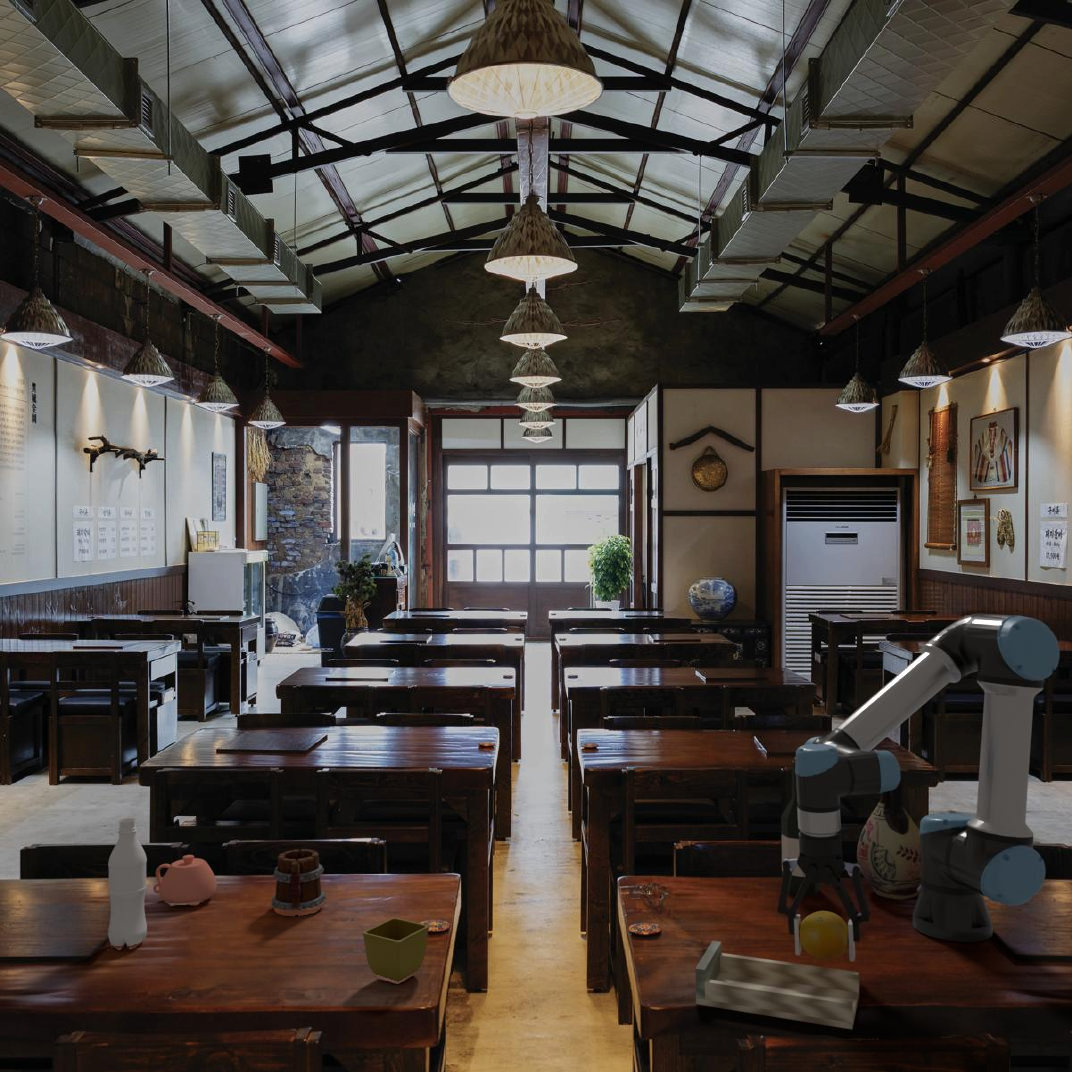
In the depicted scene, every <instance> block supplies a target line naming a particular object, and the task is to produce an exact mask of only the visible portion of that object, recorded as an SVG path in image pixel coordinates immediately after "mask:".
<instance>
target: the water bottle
mask: <svg viewBox="0 0 1072 1072" xmlns="http://www.w3.org/2000/svg"><path fill="white" fill-rule="evenodd" d="M118 826H119V827H118V831H117V834H119V835H118V839H117V842H116V843H115V846H114V848H113V849H112V851H111V854H110V856H109V858H108V863H107V864H108V865H107V866H108V894H109V900H110V901H109V902H110V918H109V919H110V920H109V926H108V930H107V936H108V940H109V944H110V945H111V946H112V945H113V946H123V945H124V944H125V943H126V944H125V945H126V946H127V947H128V946H132V945H134V944H138V943H140V942H141V941H142V940H144V939H145V940H146V937H147V933H148V925H147V920H146V919H147V918H146V913H145V895H146V891H147V861H148V859H147V854H146V852H145V850H144V848H143V846H142V844H141V843H140V841H139V840H138V836H137V832H138V828H137V826H136V818H134V817H128V818H122V819H119V825H118ZM145 940H144V941H145ZM125 945H124V946H125Z"/></svg>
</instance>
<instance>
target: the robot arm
mask: <svg viewBox="0 0 1072 1072" xmlns="http://www.w3.org/2000/svg"><path fill="white" fill-rule="evenodd" d="M1059 660H1060V646H1059V642H1058V640H1057V637H1056V635H1055V633H1054V632H1053V631H1052V630H1050V628H1049V626H1048V625H1046V624H1045V623H1044V622H1042V621H1041V620H1039V619H1036V618H1033V617H1027V616H1022V615H1019V614H1018V615H1008V614H994V613H992V614H991V613H983V612H981V613H974V614H973V613H972V614H969V615H967V616H964V617H962V618H960V619H958V620H956V621H954V622H953V623H951V624H950V625H948V626H946V627H944V629H942V630H941V631H939V632H938V633H937V634H936V635H935V636H933V637H932V638H931V639H929V640H928V641H927V642H926V643H925V644H924V645H923V646H922V647H921V654H920V655H919V656H918V657H917V658H916V659H915V660H913V661H911V663H910V664H908V665H907V666H906V667H905V668H904V669H903V670H902V671H901V672H899V674H897V675H896V676H895V677H894V678H892V679H891V680H889V682H888V683H886V684H885V685H884V686H883V687H882V688H881V689H879V691H877V692H876V693H875V694H874V695H872V696H871V697H869V699H868V700H866V702H865V703H863V704H862V705H861V706H860V707H858V708H857V709H856V710H855V711H854V712H853V713H852V714H851V715H850V716H848V717H847V718H846V719H845V720H843V721H842V722H841V723H840V724H839V725H838V726H837V727H835V728H834V729H833V730H832V731H831V732H830V733H828V734H827V735H826V736H814V737H811V738H809V739H808V740H807V741H806V742H805V743H804V745H801V746H799V747H797V749H796V751H795V757H796V763H795V773H796V785H797V802H798V807H797V810H798V828H799V829H800V830H801V831H800V832H799V857H798V859H790V858H788V857H786V858H785V859H784V861H783V863H782V862H781V866H782V865H783V871H784V876H783V882H782V881H781V888H780V895H779V898H778V904H777V913H778V914H781V915H785V916H786V917H787V923H788V927H787V928H788V934H789V935H790V936H791V935H792V936H794V948H795V950H794V952H795V956H801V953H802V949H803V946H802V944H801V941H800V937H799V929H800V925H801V923H802V921H801V914H800V913H799V914H797V911H798V910H799V907H800V905H801V903H802V901H803V899H804V896H806V895H805V892H806V890H807V888H808V886H809V884H810V882H813V883H820V884H824V885H829V886H830V885H831V886H832V888H833V890H834V891H835V893H836V894H837V896H838V897H839V898H838V899H839V900H840V902H841V904H842V905H843V908H844V909H845V911H846V913H847V915H848V917H849V918H850V919H849V920H848V923H847V926H848V935H849V944H848V950H849V951H848V953H849V962H855V960H856V945H855V944H856V942H857V943H859V942H860V940H861V937H862V933H861V923H864V922H865V923H868V922H869V921H870V917H871V911H870V908H869V904H868V901H867V896H866V892H865V890H864V885H863V882H862V878H861V871H860V870H861V865H860V864H859V863H858V862H854V863H851V862H846V861H845V859H844V857H843V845H842V844H843V843H842V841H843V840H842V833H841V832H840V831H842V824H841V804H840V803H841V797H850V796H858V795H859V796H860V795H870V794H881V792H886V791H891V790H894V789H895V788H896V787H897V786H898V784H899V782H900V777H901V778H902V775H901V776H900V774H901V767H900V764H899V761H898V759H897V757H896V756H895V755H894V753H893V752H891V751H888V750H877V749H874V748H875V747H876V746H878V744H880V743H881V742H882V741H883V740H884V739H886V738H887V737H888V736H889V735H891V733H892V732H894V731H895V730H896V729H897V728H898V727H899V726H901V724H903V723H904V722H905V721H907V720H908V718H910V717H911V716H912V715H913V714H914V713H916V712H917V711H918V710H919V709H920V708H921V707H922V706H923V705H925V704H927V702H928V701H929V700H930V699H932V698H933V697H934V696H935V695H937V693H939V692H940V691H941V690H942V689H944V688H945V686H947V685H948V684H949V683H953V684H954V683H955V684H956V683H958V682H960V681H961V679H963V678H964V677H966V676H967V675H969V674H973V673H975V672H976V673H977V677H976V683H977V684H978V685H979V687H981V689H982V690H983V692H984V698H983V699H984V700H983V713H982V727H981V741H980V758H979V772H978V785H977V786H978V787H977V800H976V814H969V813H968V814H967V813H949V812H948V813H934V814H928V815H925V816H924V817H923V818H921V820H920V823H919V825H920V826H919V831H920V833H919V836H920V859H921V885H920V890H919V891H918V892H919V893H918V894H917V899H916V902H915V905H914V908H913V911H912V926H913V928H914V929H915V930H917V931H918V932H919V933H921V934H924V935H926V936H928V937H931V938H935V939H938V940H943V941H949V942H956V943H978V942H982V941H986V940H989V939H991V938H992V936H993V935H994V934H993V933H994V929H993V926H994V925H993V923H994V922H993V920H992V917H991V914H990V912H989V908H988V905H987V902H986V900H985V898H984V897H986V898H987V899H988V900H990V901H992V902H996V903H1000V904H1002V905H1005V906H1012V907H1014V906H1021V905H1023V904H1026V903H1027V902H1029V901H1031V900H1032V898H1033V897H1035V896H1036V895H1037V894H1038V893H1039V892H1040V890H1041V889H1042V887H1043V884H1044V882H1045V878H1046V865H1045V860H1044V859H1043V858H1042V857H1041V853H1039V852H1038V851H1036V849H1034V831H1033V830H1032V829H1031V828H1030V827H1029V826H1028V825H1027V823H1026V820H1027V819H1026V817H1027V806H1028V805H1027V802H1028V789H1029V773H1030V771H1029V770H1030V758H1031V757H1030V756H1031V744H1032V743H1031V740H1032V728H1033V727H1032V726H1033V715H1034V714H1033V711H1034V700H1035V699H1034V698H1035V697H1036V696H1037V695H1038V694H1039V693H1040V692H1042V691H1043V690H1044V682H1045V681H1044V680H1045V679H1047V678H1049V677H1050V676H1052V674H1053V671H1055V670H1056V669H1057V667H1058V664H1059V662H1060V661H1059ZM873 749H874V750H873ZM796 866H799V867H800V869H801V870H802V872H803V873H804V874H805V878H804V880H803V882H802V884H801V886H800V888H799V890H798V892H797V894H795V897H794V899H793V901H792V903H791V905H790V906H789V905H788V904H787V903H788V898H789V894H790V893H789V888H790V882H791V877H792V872H793V871H794V870H795V868H796ZM845 870H846V871H847V874H848V876H849V877H851V881H852V885H853V890H854V892H855V893H854V894H855V896H856V897H855V898H856V900H857V904H858V907H859V911H860V912H859V911H858V910H857V908H856V906H855V904H854V902H853V900H852V898H851V897H850V894H849V893H848V890H847V888H846V887H845V885H844V883H843V880H842V878H841V876H840V875H841V874H842V873H843V872H844V871H845ZM992 934H993V935H992Z"/></svg>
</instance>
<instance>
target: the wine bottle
mask: <svg viewBox="0 0 1072 1072" xmlns="http://www.w3.org/2000/svg"><path fill="white" fill-rule="evenodd" d="M795 763H796V756H795V757H793V760H792V761H791V799H790V801H789V802H788V804H787V805H786V807H785V809H784V811H783V812H782V814H781V817H780V819H781V820H780V822H781V823H780V824H781V827H780V828H781V883H782V882H783V876H784V871H783V865H782V863H783V861H784V859H785V858H786V857H788V858H790V859H798V857H799V832H800V831H801V830H800V829H799V828H798V810H797V807H798V802H797V785H796V773H795ZM804 878H805V874H804V873H803V872H802V870H801V869H800V867H799V866H796V868H795V870H794V871H793V872H792V877H791V882H790V888H789V893H788V894H790V895H792V894H793V895H796V894H797V892H798V890H799V888H800V886H801V884H802V882H803V880H804ZM820 885H821V883H813V882H810V884H809V886H808V888H807V890H806V892H805V895H804V896H814V895H817V894H818V893H819V892H820V891H821V886H820Z"/></svg>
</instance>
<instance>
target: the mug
mask: <svg viewBox="0 0 1072 1072" xmlns="http://www.w3.org/2000/svg"><path fill="white" fill-rule="evenodd" d="M319 856H320V855H319V853H318V851H315V850H313V849H307V848H303V849H302V848H301V849H300V850H299V849H292V850H288V851H283V852H282V853H280V854H279V855H278V856H277V866H276V867H275V868H274V872H273V878H274V879H275V880H276V884H275V894H273V896H272V898H271V902H270V905H271V907H272V906H273V907H274V908H278V909H282V910H301V909H306V908H313V907H315V906H318V905H319V904H321V903H322V902H323V901H324V899H325V900H327V895H325V892H324V891H323V890H322V886H321V884H322V883H321V877H322V875H323V872H325V871H324V869H325V868H324V867H323V865H322V864H321V863H320V857H319ZM273 907H272V908H273ZM274 908H273V909H274Z"/></svg>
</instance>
